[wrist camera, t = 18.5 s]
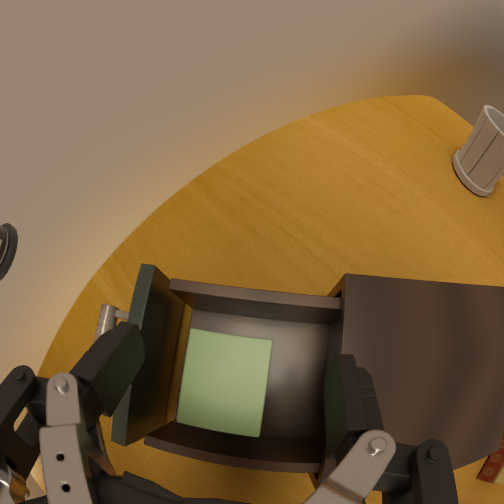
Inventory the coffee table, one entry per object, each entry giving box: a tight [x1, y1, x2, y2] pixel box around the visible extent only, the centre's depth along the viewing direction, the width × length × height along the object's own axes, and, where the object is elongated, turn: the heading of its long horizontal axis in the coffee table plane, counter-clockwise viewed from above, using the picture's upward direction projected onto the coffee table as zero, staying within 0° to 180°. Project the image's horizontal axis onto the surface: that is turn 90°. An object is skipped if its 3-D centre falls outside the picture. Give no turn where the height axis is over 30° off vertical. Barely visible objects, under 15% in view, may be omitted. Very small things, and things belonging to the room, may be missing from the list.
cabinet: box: [308, 273, 504, 490], centre depth 17 cm, size 17×15×10 cm
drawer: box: [94, 264, 342, 473], centre depth 19 cm, size 20×13×8 cm
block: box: [177, 328, 273, 437], centre depth 17 cm, size 4×6×9 cm
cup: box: [453, 105, 504, 196], centre depth 26 cm, size 10×9×12 cm
